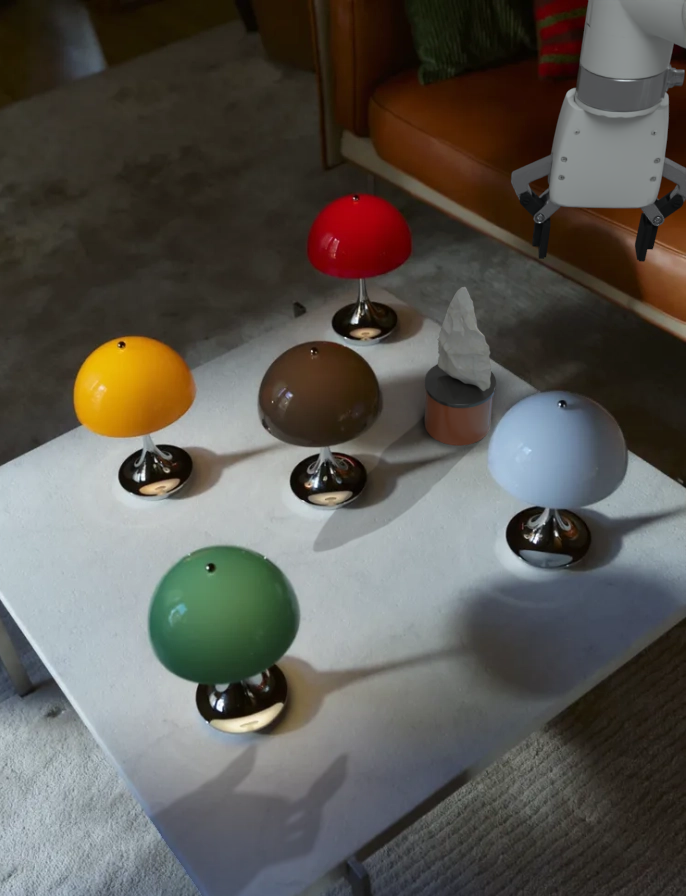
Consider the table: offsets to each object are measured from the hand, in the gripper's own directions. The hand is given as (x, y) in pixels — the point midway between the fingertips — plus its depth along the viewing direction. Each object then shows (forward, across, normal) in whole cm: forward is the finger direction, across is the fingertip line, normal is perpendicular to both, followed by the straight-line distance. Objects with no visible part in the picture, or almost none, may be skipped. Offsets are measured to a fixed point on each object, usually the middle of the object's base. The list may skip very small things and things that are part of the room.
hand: (590, 252), depth 96 cm
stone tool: (+29, +12, -13) cm, 34 cm away
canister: (+36, +12, -14) cm, 41 cm away
